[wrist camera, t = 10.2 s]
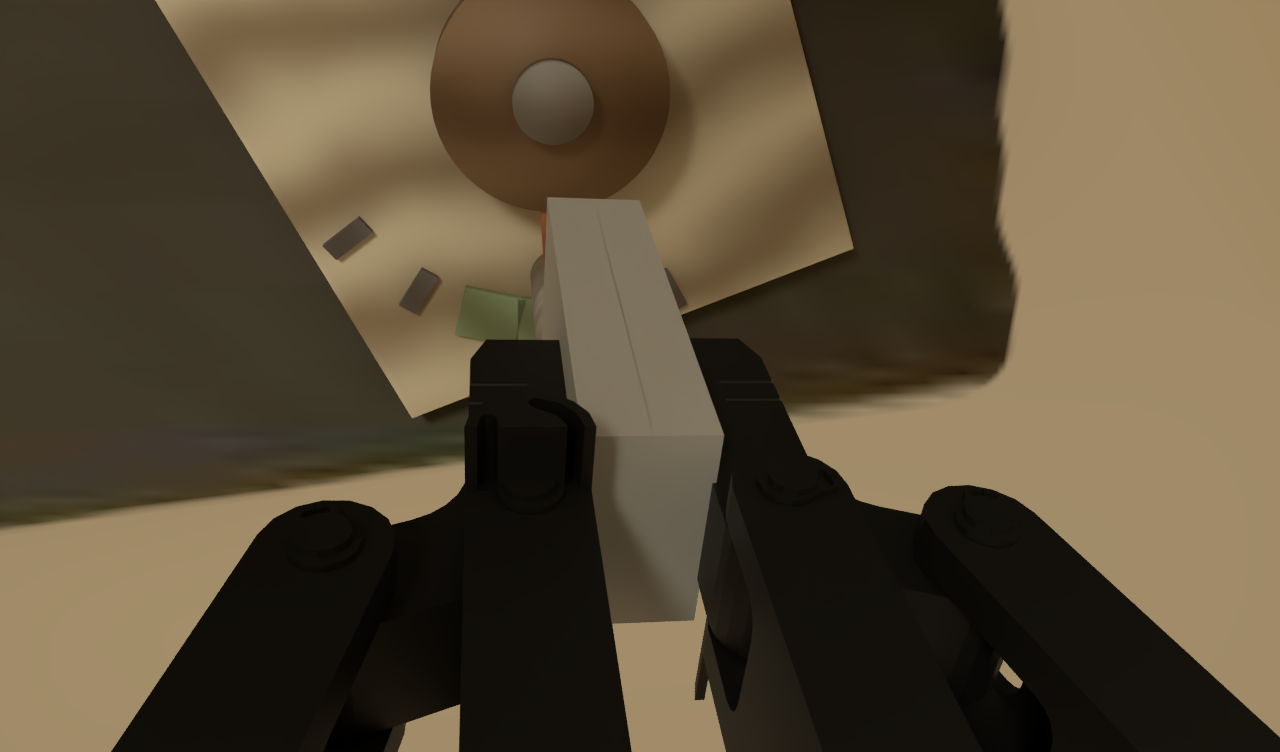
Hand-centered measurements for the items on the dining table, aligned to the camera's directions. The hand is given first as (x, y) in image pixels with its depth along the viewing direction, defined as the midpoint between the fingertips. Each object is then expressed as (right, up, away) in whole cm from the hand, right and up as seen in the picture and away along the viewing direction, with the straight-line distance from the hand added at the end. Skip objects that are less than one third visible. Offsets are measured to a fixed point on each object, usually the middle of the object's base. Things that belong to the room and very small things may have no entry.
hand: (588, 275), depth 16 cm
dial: (-3, +8, +23) cm, 24 cm away
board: (-3, +9, +24) cm, 26 cm away
